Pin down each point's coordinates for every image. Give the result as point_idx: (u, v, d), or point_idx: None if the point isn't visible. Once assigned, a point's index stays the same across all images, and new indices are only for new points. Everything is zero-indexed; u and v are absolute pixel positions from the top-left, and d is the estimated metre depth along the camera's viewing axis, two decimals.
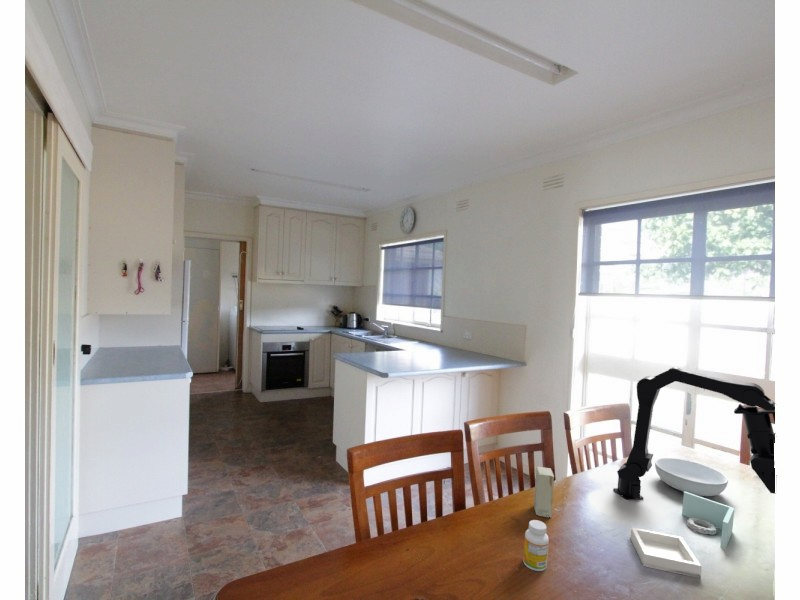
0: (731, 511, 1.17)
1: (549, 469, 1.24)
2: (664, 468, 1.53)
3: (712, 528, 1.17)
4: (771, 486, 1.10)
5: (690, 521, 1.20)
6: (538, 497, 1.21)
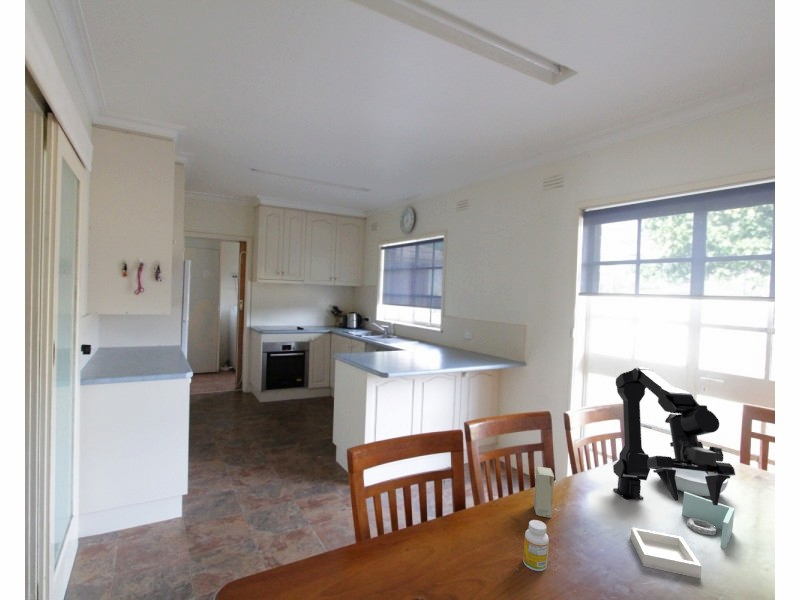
0: (731, 511, 1.17)
1: (549, 469, 1.24)
2: None
3: (712, 528, 1.17)
4: (672, 492, 1.05)
5: (690, 521, 1.20)
6: (538, 497, 1.21)
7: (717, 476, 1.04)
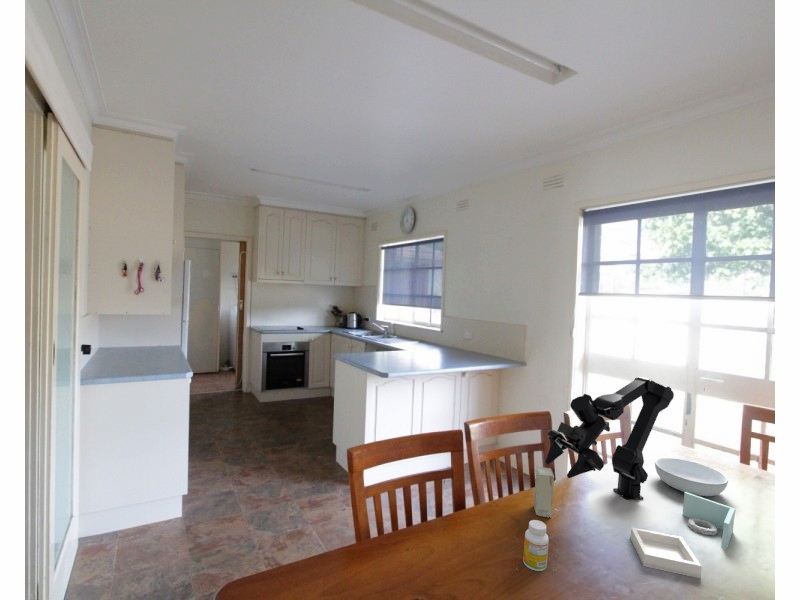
0: (732, 512, 1.16)
1: (549, 469, 1.24)
2: (664, 468, 1.53)
3: (713, 529, 1.17)
4: None
5: (691, 522, 1.20)
6: (538, 497, 1.21)
7: None
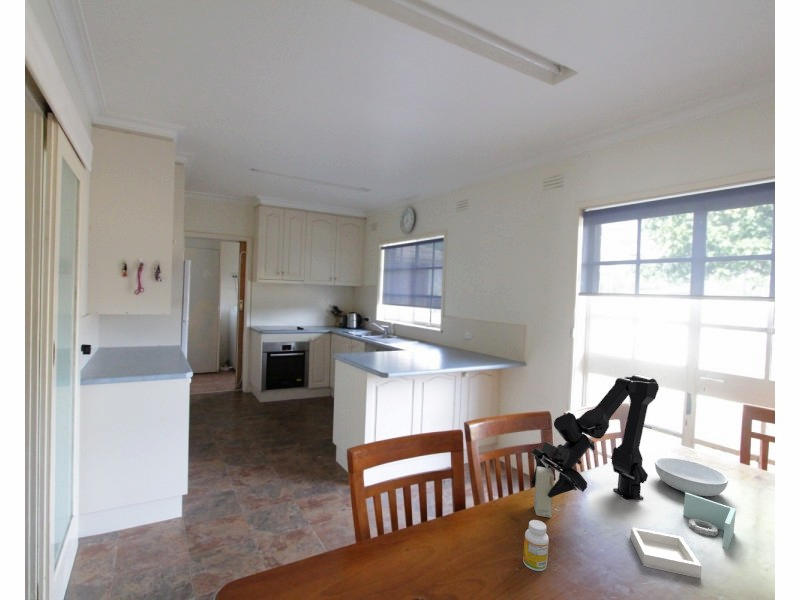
0: (733, 512, 1.16)
1: (549, 469, 1.24)
2: (664, 468, 1.53)
3: (714, 529, 1.17)
4: None
5: (691, 522, 1.20)
6: (538, 497, 1.21)
7: None
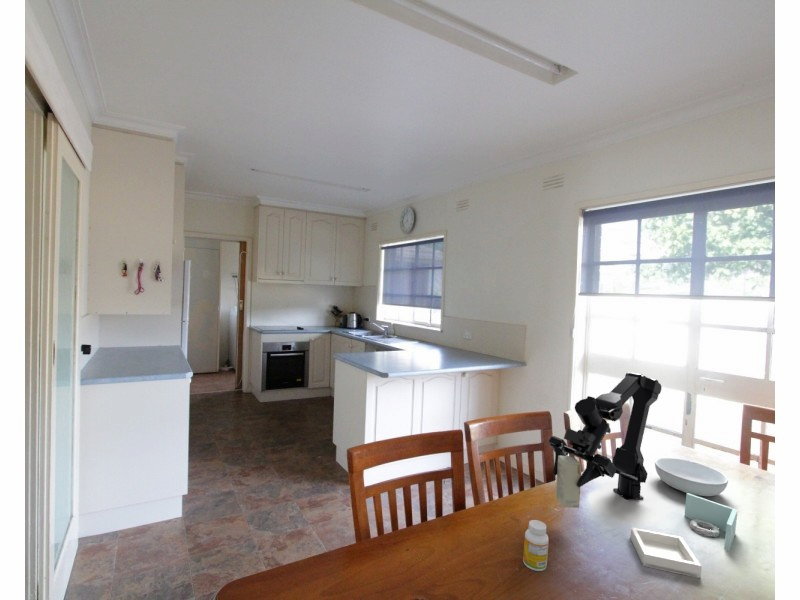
0: (734, 513, 1.16)
1: (572, 457, 1.18)
2: (664, 468, 1.53)
3: (715, 530, 1.17)
4: None
5: (693, 523, 1.20)
6: (566, 488, 1.14)
7: None
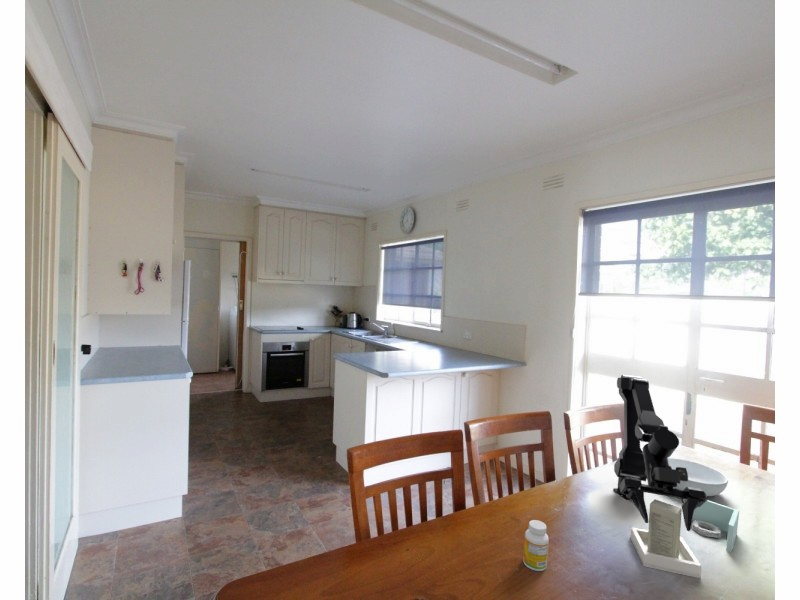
0: (736, 514, 1.15)
1: (659, 501, 1.07)
2: None
3: (717, 531, 1.16)
4: (643, 514, 1.06)
5: (694, 524, 1.19)
6: (676, 540, 1.02)
7: (688, 500, 1.05)
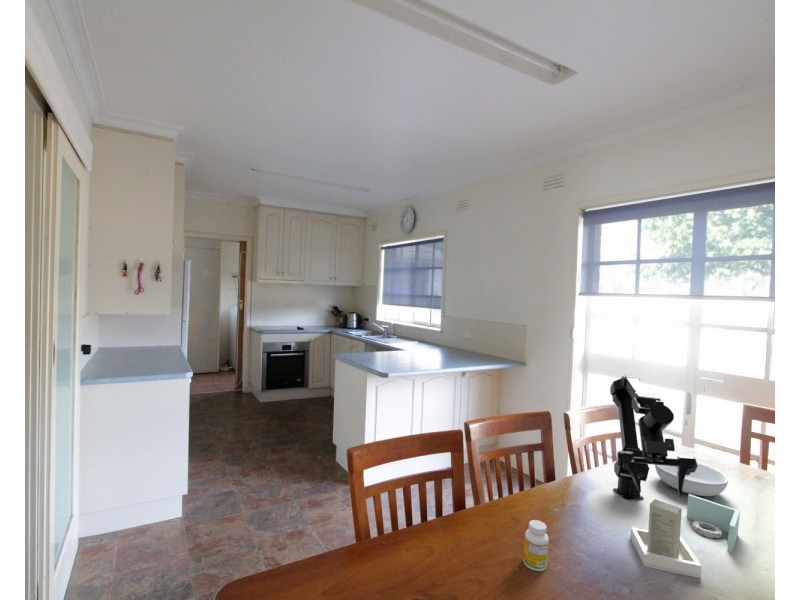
0: (737, 514, 1.15)
1: (659, 501, 1.07)
2: (664, 468, 1.53)
3: (718, 531, 1.16)
4: (636, 484, 1.15)
5: (695, 524, 1.19)
6: (676, 540, 1.02)
7: (678, 468, 1.11)
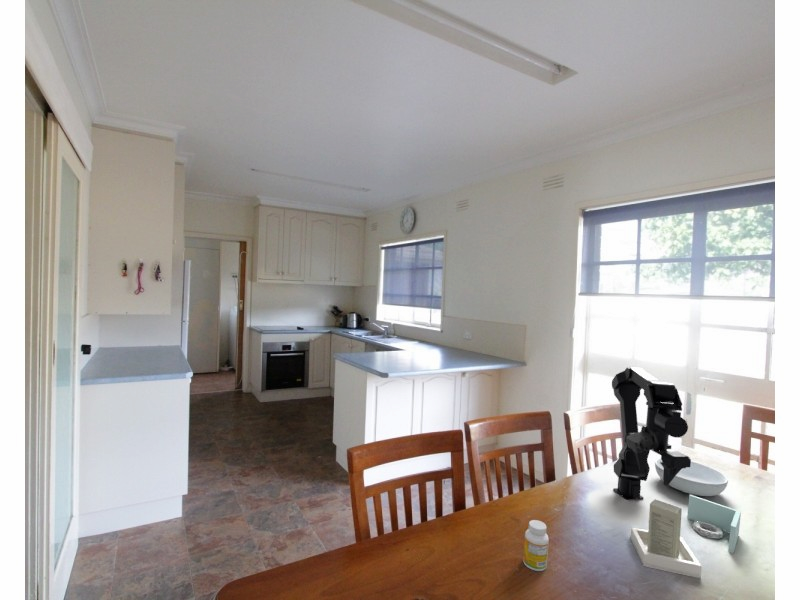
0: (738, 515, 1.15)
1: (659, 501, 1.07)
2: None
3: (719, 532, 1.16)
4: None
5: (696, 525, 1.19)
6: (676, 540, 1.02)
7: None
